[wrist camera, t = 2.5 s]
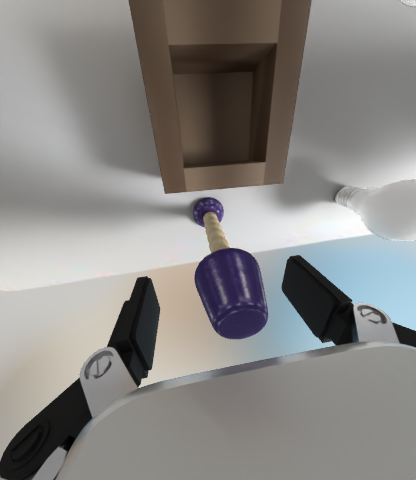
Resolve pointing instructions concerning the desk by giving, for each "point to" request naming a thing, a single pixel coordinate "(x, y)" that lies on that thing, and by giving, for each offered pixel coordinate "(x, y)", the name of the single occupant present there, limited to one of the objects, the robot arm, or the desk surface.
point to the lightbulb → (384, 208)
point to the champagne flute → (409, 2)
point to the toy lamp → (228, 280)
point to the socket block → (221, 87)
